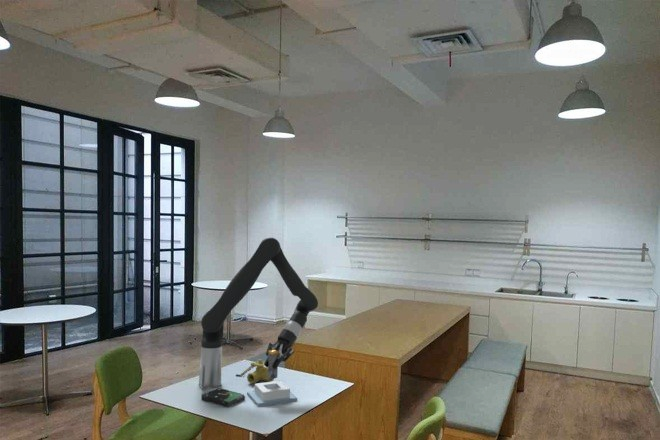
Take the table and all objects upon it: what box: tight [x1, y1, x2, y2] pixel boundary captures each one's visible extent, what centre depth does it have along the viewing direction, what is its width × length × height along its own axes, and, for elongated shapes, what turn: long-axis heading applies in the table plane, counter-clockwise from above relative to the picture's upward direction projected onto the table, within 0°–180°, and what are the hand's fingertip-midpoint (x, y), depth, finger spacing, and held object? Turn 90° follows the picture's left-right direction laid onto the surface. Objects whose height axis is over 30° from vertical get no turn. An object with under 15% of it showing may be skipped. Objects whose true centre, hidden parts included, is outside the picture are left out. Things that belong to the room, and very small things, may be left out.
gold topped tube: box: [267, 350, 279, 379], centre depth 194 cm, size 4×4×11 cm
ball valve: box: [246, 358, 275, 384], centre depth 215 cm, size 13×10×10 cm
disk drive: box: [201, 387, 246, 408], centre depth 190 cm, size 10×3×15 cm
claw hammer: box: [235, 364, 255, 378], centre depth 231 cm, size 21×7×1 cm, turn 167°
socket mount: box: [246, 380, 298, 407], centre depth 194 cm, size 17×15×5 cm
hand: (269, 367), depth 193 cm, fingers closed on gold topped tube, 4 cm apart
